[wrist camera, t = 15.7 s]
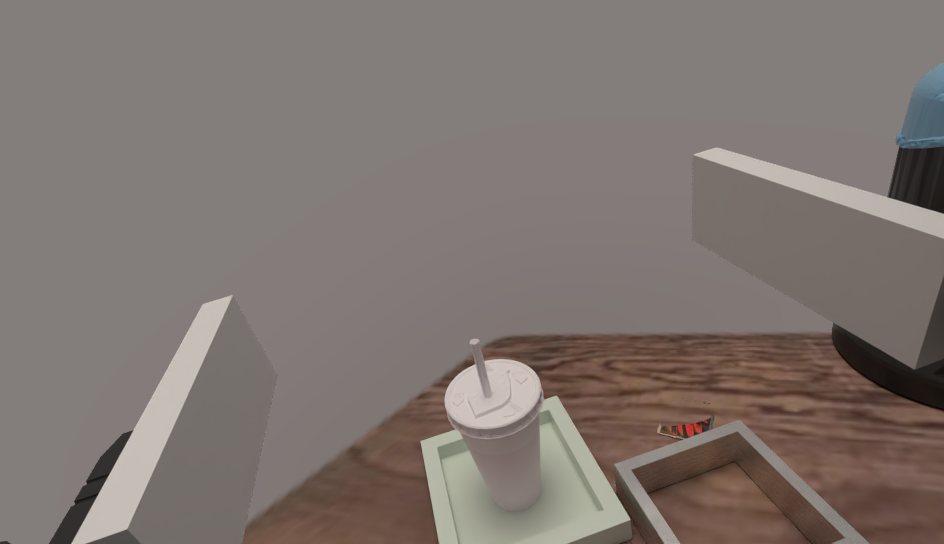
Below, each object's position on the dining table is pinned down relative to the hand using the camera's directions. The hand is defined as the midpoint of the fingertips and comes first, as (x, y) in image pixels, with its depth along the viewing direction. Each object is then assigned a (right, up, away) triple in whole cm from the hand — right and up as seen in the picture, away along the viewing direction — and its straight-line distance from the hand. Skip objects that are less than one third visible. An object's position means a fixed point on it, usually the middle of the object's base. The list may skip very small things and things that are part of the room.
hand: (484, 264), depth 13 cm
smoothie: (+3, -16, +22) cm, 27 cm away
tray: (+3, -17, +22) cm, 28 cm away
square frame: (+16, -17, +17) cm, 28 cm away
